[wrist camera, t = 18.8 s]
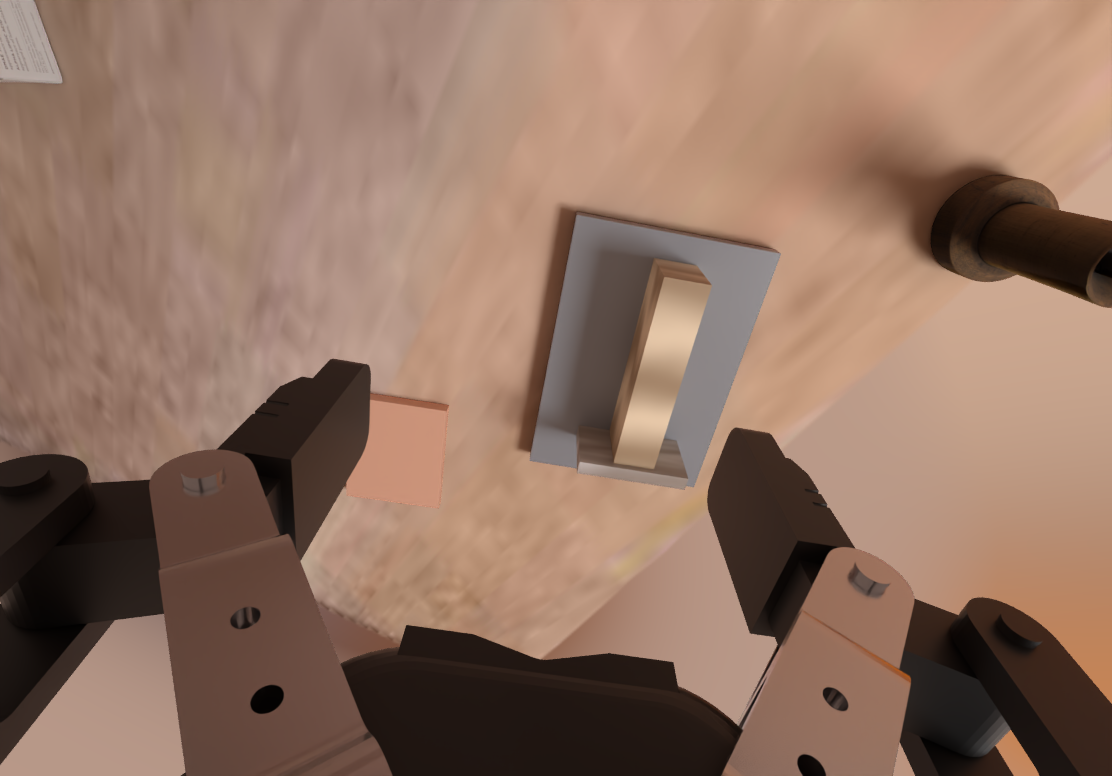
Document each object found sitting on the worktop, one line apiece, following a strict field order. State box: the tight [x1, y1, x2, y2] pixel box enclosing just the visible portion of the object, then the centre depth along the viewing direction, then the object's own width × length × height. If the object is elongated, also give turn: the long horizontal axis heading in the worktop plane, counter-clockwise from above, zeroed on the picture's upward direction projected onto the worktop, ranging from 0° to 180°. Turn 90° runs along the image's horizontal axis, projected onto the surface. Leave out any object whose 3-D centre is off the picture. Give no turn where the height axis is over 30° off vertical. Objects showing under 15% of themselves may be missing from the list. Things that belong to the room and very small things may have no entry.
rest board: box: [530, 212, 781, 487], centre depth 42 cm, size 20×14×1 cm
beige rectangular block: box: [576, 258, 712, 490], centre depth 39 cm, size 15×8×5 cm, turn 170°
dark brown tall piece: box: [931, 175, 1112, 308], centre depth 29 cm, size 7×6×18 cm
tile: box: [346, 393, 449, 508], centre depth 46 cm, size 1×8×10 cm
